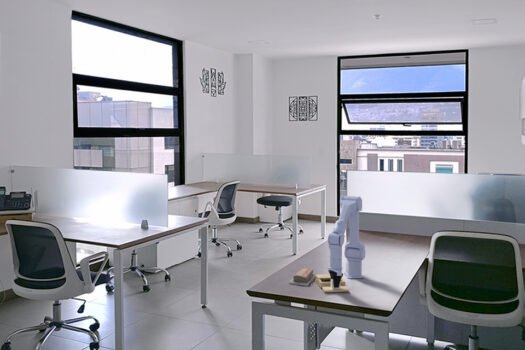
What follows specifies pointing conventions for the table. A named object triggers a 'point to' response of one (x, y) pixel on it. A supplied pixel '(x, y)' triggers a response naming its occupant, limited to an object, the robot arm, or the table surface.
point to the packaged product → (303, 277)
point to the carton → (326, 280)
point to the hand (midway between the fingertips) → (335, 286)
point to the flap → (332, 289)
